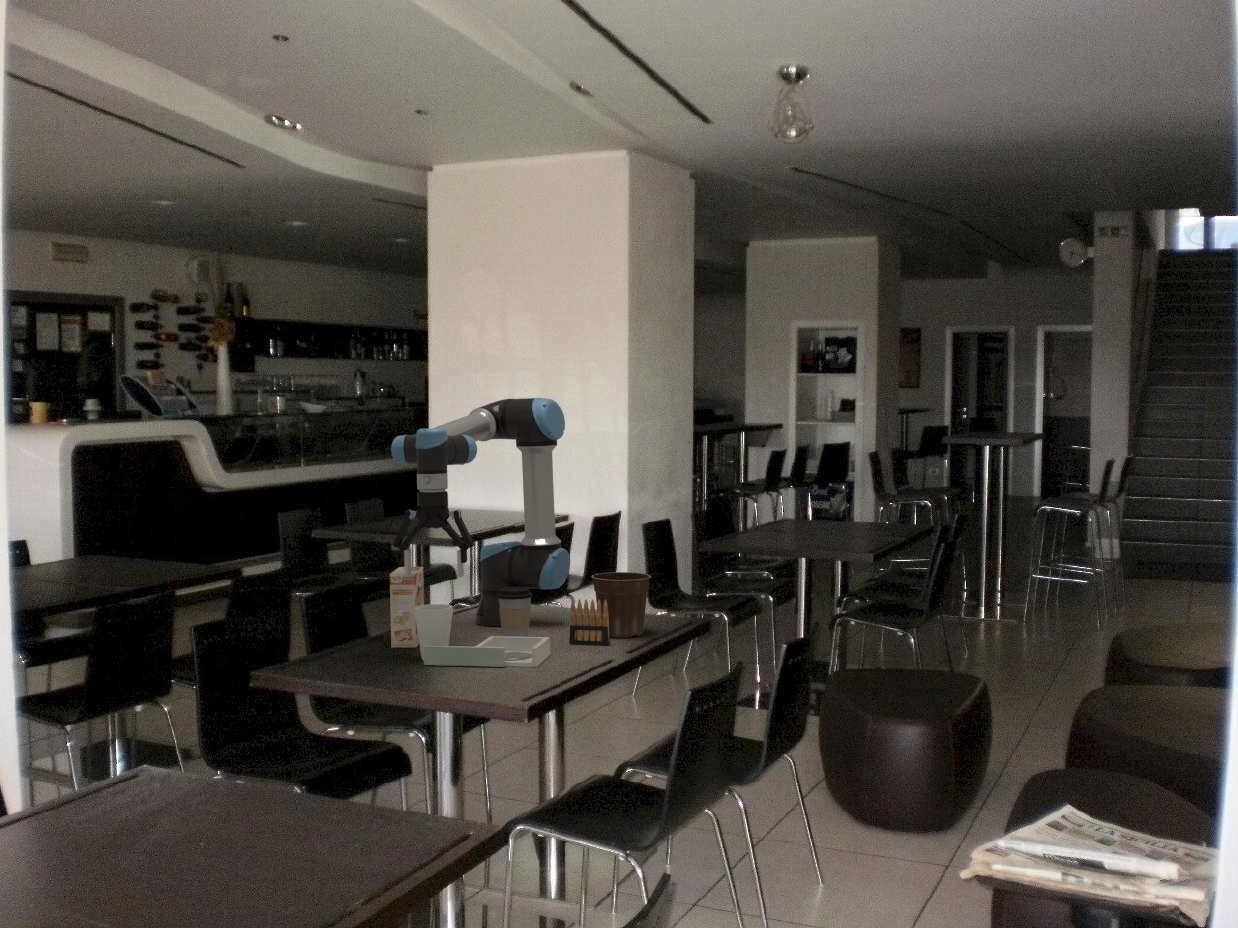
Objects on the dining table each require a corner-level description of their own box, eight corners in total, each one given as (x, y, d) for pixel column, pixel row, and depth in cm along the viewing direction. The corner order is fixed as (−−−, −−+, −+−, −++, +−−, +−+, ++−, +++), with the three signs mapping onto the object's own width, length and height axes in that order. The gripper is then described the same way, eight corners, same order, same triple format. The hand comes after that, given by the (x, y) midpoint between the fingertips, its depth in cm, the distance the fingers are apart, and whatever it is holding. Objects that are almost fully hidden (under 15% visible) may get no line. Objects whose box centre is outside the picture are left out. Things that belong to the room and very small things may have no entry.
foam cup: (417, 664, 302) (416, 611, 302) (413, 656, 311) (412, 605, 311) (456, 661, 305) (455, 608, 304) (451, 654, 314) (449, 603, 313)
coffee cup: (536, 642, 327) (535, 586, 326) (530, 649, 318) (529, 591, 317) (501, 642, 328) (500, 586, 327) (494, 649, 319) (492, 591, 318)
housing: (491, 653, 314) (490, 636, 313) (550, 654, 311) (549, 637, 311) (474, 665, 300) (474, 647, 299) (536, 666, 297) (536, 648, 297)
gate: (425, 663, 301) (425, 645, 301) (505, 665, 298) (505, 647, 298) (424, 664, 300) (423, 646, 300) (504, 666, 297) (503, 648, 297)
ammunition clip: (610, 644, 323) (609, 599, 323) (608, 646, 321) (608, 600, 321) (571, 643, 326) (570, 598, 325) (569, 644, 324) (568, 599, 324)
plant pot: (649, 628, 346) (649, 570, 345) (654, 639, 330) (653, 579, 329) (591, 629, 345) (590, 572, 344) (593, 640, 329) (592, 580, 328)
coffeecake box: (417, 647, 323) (415, 573, 322) (390, 648, 323) (388, 573, 322) (425, 636, 338) (424, 565, 337) (399, 637, 338) (398, 566, 337)
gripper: (379, 491, 304) (381, 577, 305) (477, 491, 300) (478, 578, 301) (389, 489, 312) (391, 573, 313) (485, 489, 308) (487, 574, 309)
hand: (434, 576), depth 307 cm, fingers open, 13 cm apart
